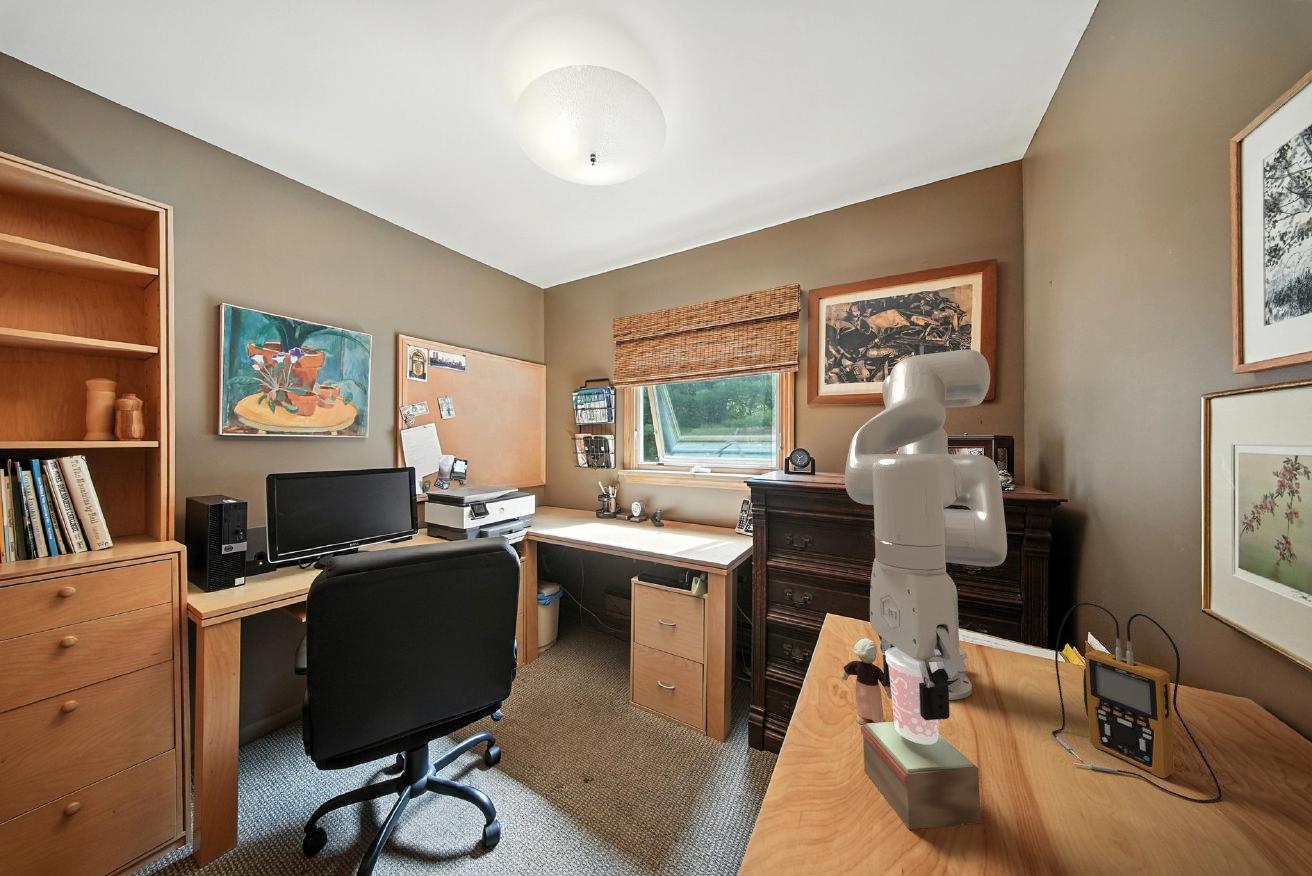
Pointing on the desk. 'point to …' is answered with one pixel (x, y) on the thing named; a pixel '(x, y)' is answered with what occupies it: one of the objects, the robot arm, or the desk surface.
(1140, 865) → the desk surface
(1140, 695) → the multimeter
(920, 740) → the beverage cup
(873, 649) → the grandmother figurine
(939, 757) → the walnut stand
